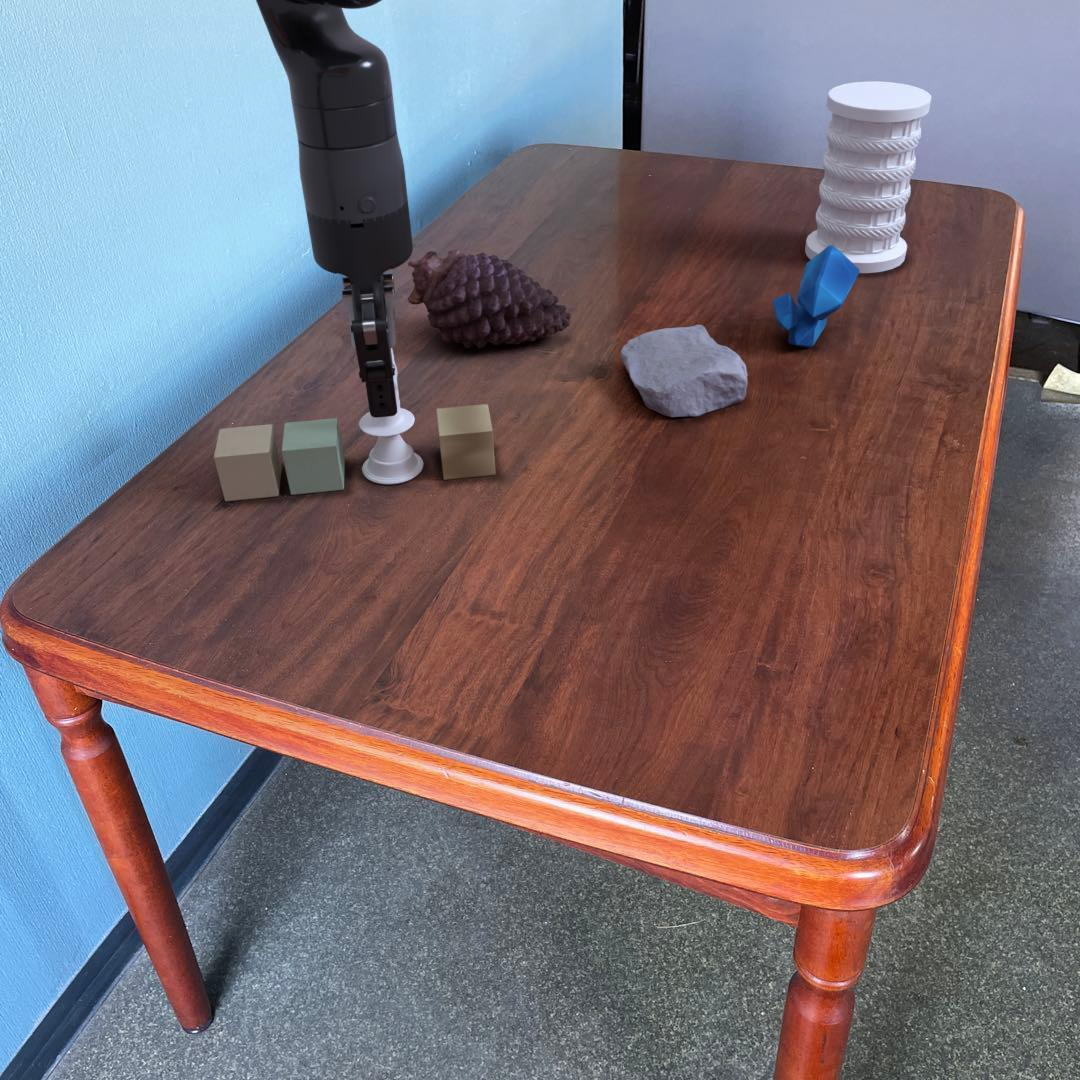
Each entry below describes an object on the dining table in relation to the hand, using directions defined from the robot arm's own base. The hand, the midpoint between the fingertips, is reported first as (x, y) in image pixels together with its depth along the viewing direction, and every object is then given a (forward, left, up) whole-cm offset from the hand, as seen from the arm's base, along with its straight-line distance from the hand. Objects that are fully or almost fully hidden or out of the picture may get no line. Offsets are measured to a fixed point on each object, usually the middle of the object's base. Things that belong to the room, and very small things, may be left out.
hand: (383, 398), depth 89 cm
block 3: (+6, 0, -7) cm, 10 cm away
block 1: (-12, 0, -7) cm, 14 cm away
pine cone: (+10, +23, -7) cm, 26 cm away
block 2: (-7, 0, -7) cm, 10 cm away
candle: (0, 0, -7) cm, 7 cm away
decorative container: (+55, +37, -7) cm, 67 cm away
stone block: (+27, +10, -7) cm, 30 cm away
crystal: (+43, +18, -7) cm, 48 cm away
